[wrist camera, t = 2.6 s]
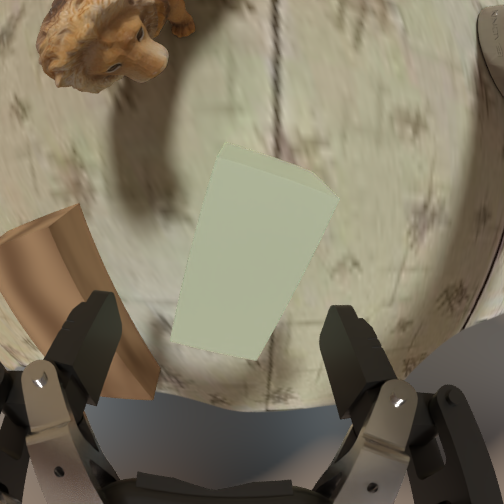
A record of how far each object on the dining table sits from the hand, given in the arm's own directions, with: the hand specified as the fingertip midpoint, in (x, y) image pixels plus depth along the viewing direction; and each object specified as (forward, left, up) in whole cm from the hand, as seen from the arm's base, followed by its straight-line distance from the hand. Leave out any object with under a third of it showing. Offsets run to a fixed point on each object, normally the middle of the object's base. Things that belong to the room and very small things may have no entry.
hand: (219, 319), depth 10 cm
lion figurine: (+3, -14, -8) cm, 17 cm away
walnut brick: (+12, +7, -8) cm, 16 cm away
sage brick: (-1, 0, -8) cm, 8 cm away
